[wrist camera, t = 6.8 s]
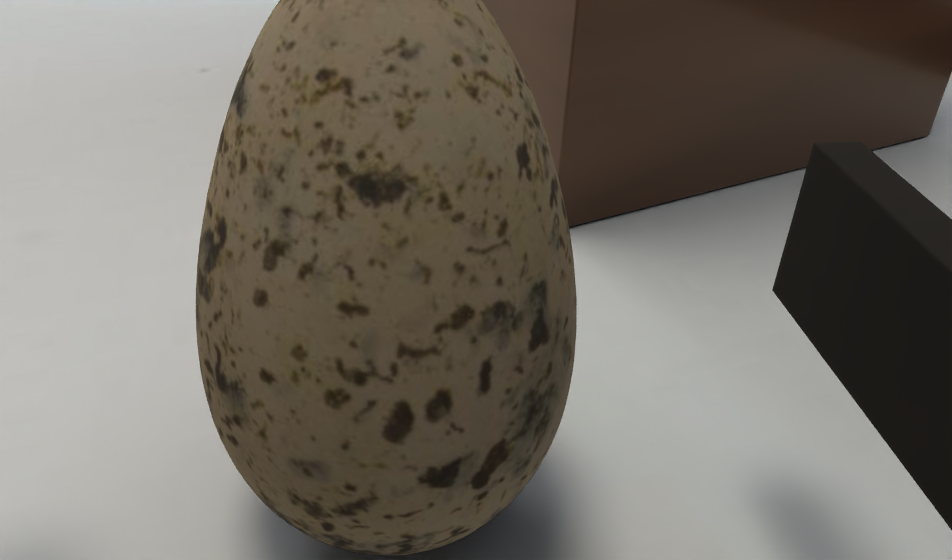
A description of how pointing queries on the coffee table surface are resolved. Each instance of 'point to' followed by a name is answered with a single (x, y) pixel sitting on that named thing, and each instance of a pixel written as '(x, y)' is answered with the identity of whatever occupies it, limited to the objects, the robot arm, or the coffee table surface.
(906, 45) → the plinth
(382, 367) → the decorative egg
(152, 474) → the coffee table surface
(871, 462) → the coffee table surface
